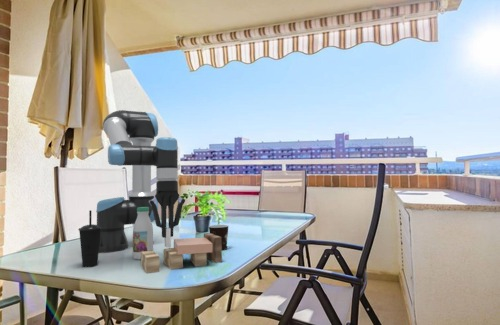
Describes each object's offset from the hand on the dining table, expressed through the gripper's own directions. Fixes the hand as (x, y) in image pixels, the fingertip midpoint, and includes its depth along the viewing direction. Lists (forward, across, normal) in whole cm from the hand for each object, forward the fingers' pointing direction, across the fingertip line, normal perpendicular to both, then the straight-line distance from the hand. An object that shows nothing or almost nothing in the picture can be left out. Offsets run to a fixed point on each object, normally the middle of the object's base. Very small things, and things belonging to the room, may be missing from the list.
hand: (167, 246), depth 111 cm
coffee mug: (+7, -25, -14) cm, 30 cm away
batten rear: (+7, +6, 0) cm, 9 cm away
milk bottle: (+7, +5, -19) cm, 21 cm away
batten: (+7, -11, +1) cm, 13 cm away
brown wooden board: (+7, -17, 0) cm, 18 cm away
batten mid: (+7, -2, 0) cm, 7 cm away
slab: (+2, -9, +2) cm, 9 cm away
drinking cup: (+7, +24, -17) cm, 30 cm away
